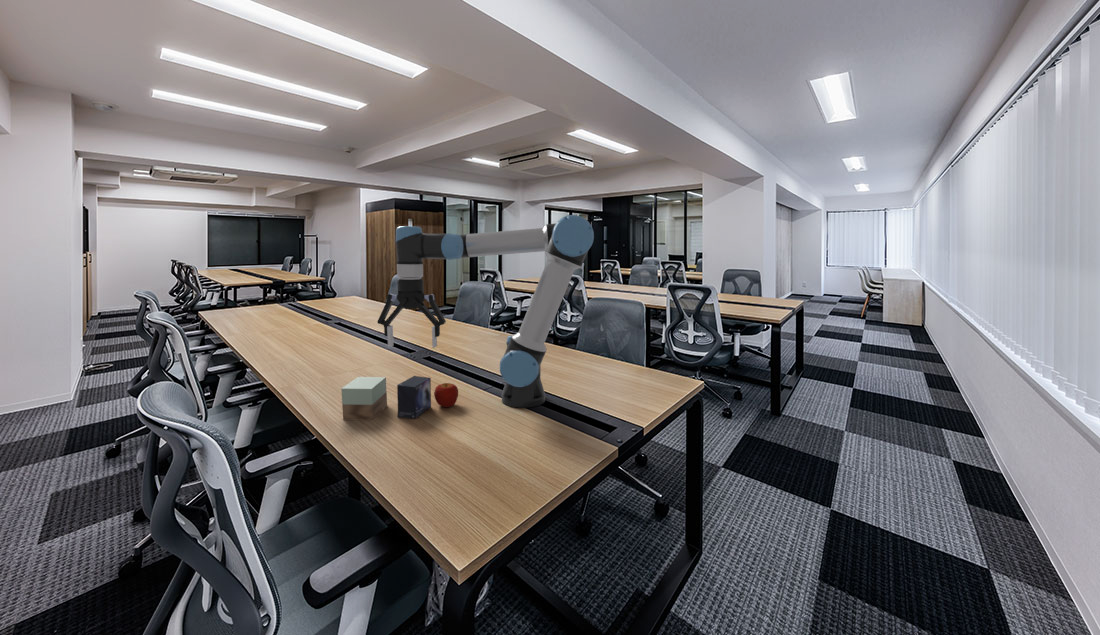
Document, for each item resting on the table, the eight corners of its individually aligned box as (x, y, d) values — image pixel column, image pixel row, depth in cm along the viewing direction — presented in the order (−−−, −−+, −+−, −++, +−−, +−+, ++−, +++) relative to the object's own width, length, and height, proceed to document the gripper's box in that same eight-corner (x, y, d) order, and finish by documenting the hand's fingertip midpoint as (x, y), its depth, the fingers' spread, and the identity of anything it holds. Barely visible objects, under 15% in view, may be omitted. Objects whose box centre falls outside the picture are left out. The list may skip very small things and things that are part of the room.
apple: (433, 410, 137) (433, 387, 136) (435, 402, 145) (434, 380, 144) (458, 409, 139) (458, 386, 138) (458, 401, 147) (458, 379, 145)
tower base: (387, 406, 142) (386, 391, 141) (373, 420, 130) (372, 404, 129) (359, 405, 141) (359, 391, 141) (343, 419, 129) (342, 404, 129)
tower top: (386, 391, 141) (385, 377, 140) (372, 404, 129) (371, 388, 128) (358, 391, 140) (358, 376, 140) (342, 404, 128) (341, 388, 128)
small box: (416, 419, 130) (415, 386, 128) (396, 417, 131) (395, 384, 130) (432, 407, 140) (431, 376, 139) (414, 405, 142) (413, 375, 140)
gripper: (454, 278, 133) (455, 344, 136) (373, 277, 133) (377, 343, 136) (449, 279, 126) (450, 349, 129) (363, 278, 125) (367, 348, 129)
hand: (412, 346), depth 133 cm, fingers open, 13 cm apart
